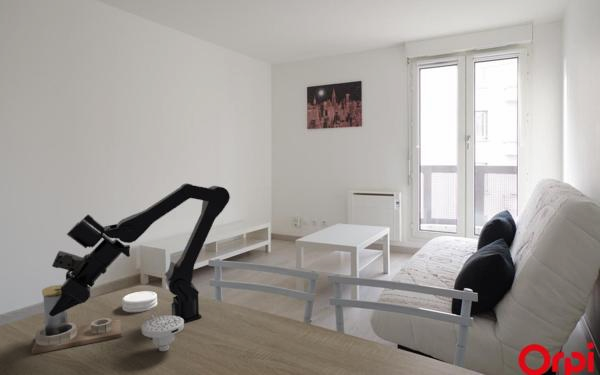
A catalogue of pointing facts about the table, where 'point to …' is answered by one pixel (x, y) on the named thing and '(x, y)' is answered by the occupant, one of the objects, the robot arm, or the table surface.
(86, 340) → the fitting board
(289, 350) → the table surface
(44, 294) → the grey lidded canister
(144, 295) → the white plate stack
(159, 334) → the showerhead
